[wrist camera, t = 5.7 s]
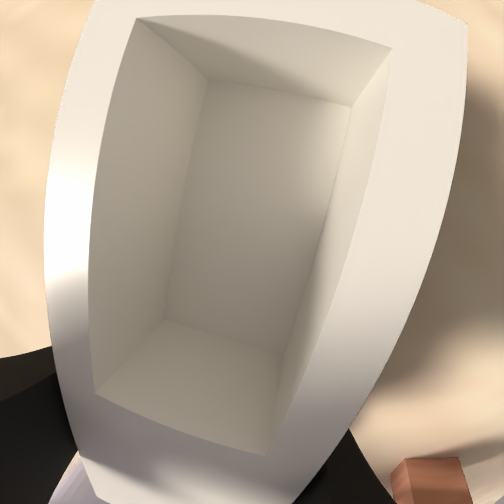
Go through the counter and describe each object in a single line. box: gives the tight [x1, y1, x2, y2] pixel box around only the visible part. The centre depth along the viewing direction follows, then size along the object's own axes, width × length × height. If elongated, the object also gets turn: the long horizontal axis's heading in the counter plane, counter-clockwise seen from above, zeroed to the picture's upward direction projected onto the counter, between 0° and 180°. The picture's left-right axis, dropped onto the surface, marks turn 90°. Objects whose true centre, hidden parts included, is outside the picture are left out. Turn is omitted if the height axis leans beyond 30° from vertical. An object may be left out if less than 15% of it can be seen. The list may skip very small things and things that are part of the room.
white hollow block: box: [44, 0, 467, 504], centre depth 7 cm, size 6×14×5 cm, turn 167°
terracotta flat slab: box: [390, 457, 473, 504], centre depth 11 cm, size 2×5×6 cm, turn 78°
